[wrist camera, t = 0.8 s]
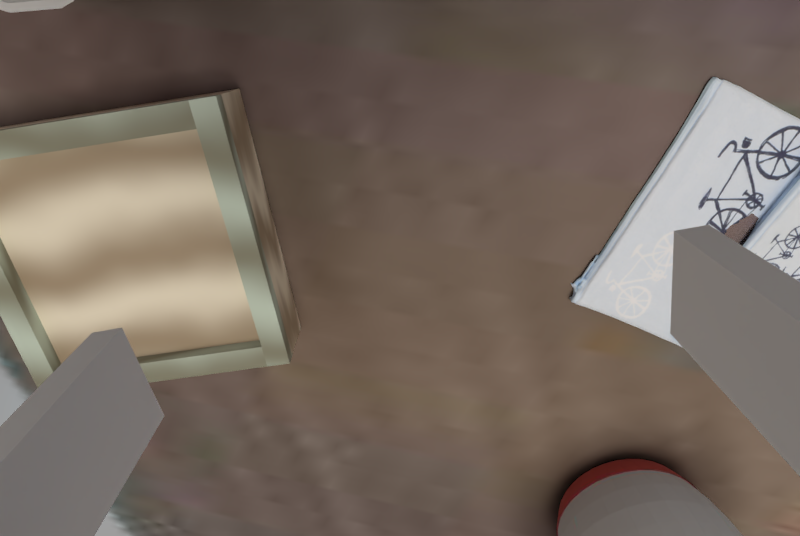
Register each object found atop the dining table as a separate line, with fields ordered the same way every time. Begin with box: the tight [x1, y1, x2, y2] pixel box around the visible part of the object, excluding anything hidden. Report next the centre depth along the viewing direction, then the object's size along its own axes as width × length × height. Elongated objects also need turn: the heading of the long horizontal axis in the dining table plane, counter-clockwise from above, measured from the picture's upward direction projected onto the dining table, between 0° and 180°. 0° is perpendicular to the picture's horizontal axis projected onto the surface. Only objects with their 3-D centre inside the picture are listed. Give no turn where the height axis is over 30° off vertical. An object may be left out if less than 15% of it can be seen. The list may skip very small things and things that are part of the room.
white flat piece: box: [569, 77, 800, 347], centre depth 38 cm, size 19×20×2 cm
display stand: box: [0, 89, 301, 388], centre depth 36 cm, size 18×18×5 cm
